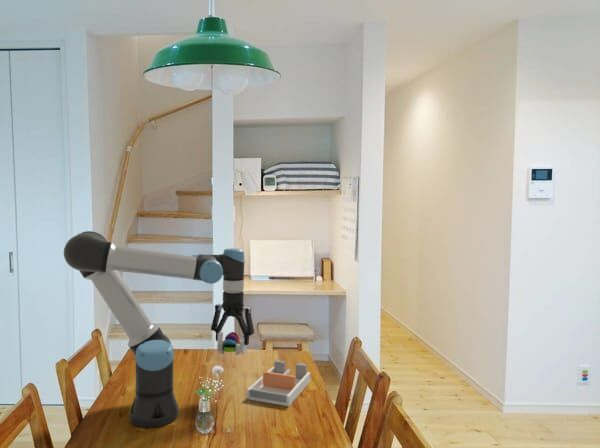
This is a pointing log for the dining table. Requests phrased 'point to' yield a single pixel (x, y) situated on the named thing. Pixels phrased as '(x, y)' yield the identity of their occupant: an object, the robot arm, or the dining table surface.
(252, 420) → the dining table surface
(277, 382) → the pusher
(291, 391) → the grey tray
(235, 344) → the multicolored domed toy
